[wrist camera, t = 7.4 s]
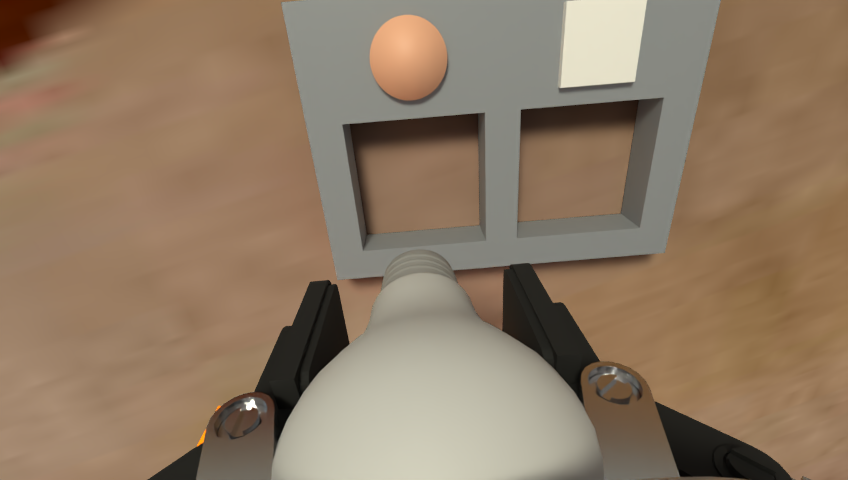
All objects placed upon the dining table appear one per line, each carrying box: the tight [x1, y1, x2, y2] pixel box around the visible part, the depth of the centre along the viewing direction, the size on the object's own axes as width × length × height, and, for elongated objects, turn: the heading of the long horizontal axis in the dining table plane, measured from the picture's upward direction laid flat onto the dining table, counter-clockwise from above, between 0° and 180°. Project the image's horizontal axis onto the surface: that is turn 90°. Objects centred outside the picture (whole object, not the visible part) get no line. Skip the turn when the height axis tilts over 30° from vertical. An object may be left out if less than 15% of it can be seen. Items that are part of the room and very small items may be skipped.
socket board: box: [281, 0, 721, 280], centre depth 23 cm, size 22×16×3 cm
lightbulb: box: [271, 249, 604, 480], centre depth 10 cm, size 6×6×11 cm
